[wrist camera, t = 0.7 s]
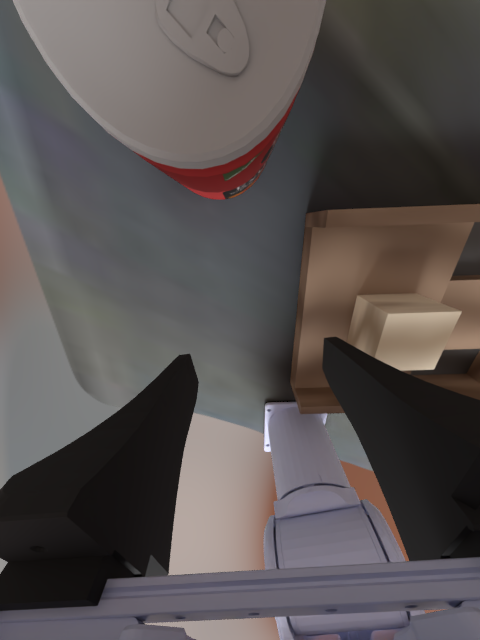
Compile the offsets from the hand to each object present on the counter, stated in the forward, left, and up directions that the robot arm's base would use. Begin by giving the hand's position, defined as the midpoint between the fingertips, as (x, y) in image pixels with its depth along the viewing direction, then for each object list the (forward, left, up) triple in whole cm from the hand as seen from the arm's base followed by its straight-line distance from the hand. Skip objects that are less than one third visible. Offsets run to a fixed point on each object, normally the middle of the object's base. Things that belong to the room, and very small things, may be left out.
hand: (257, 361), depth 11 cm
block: (-2, -12, -8) cm, 14 cm away
